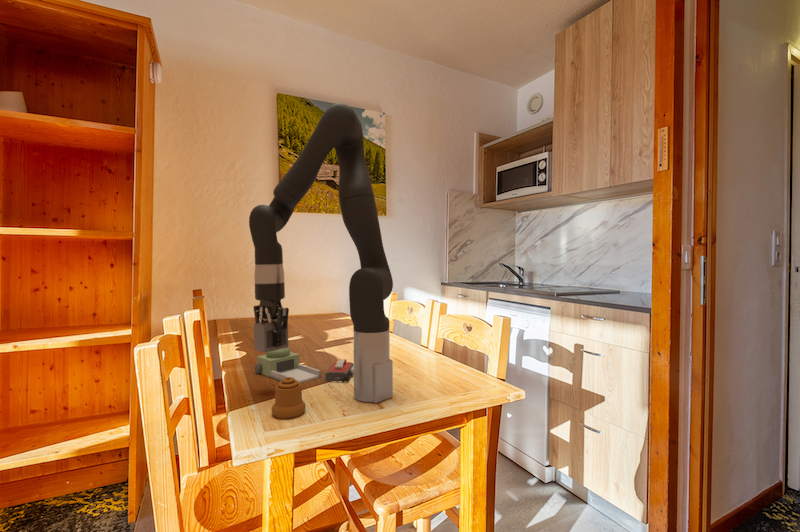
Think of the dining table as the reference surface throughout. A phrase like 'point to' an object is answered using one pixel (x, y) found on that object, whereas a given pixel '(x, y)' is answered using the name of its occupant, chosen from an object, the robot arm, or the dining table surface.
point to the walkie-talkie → (340, 371)
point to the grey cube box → (267, 337)
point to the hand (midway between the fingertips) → (271, 344)
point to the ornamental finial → (288, 399)
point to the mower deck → (284, 366)
